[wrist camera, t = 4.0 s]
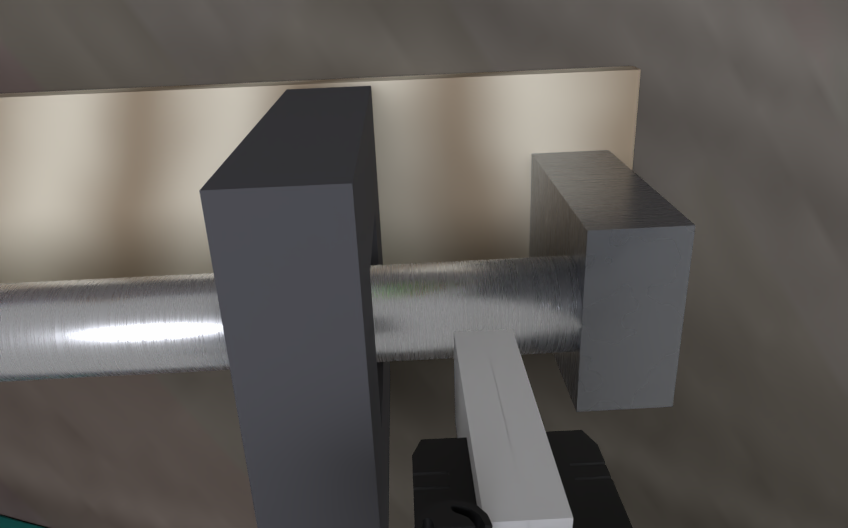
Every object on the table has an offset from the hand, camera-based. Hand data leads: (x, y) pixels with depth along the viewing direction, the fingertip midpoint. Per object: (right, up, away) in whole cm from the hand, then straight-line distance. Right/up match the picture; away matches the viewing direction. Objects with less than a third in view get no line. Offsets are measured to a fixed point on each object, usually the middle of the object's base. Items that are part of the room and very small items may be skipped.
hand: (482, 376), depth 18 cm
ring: (-5, +4, +9) cm, 11 cm away
